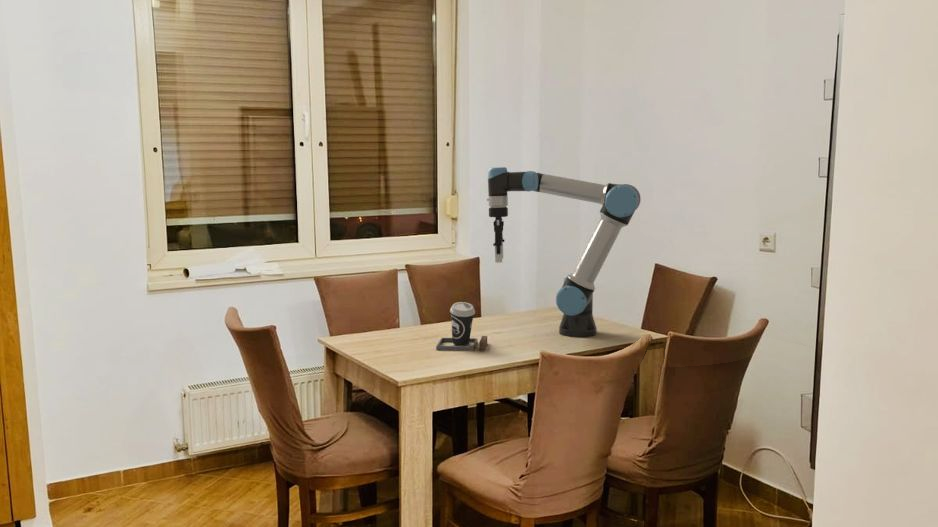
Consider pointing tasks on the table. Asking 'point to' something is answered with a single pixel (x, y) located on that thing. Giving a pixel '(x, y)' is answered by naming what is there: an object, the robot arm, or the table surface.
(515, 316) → the table surface
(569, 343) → the table surface
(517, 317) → the table surface
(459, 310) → the coffee cup
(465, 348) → the frame
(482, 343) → the edge strip
